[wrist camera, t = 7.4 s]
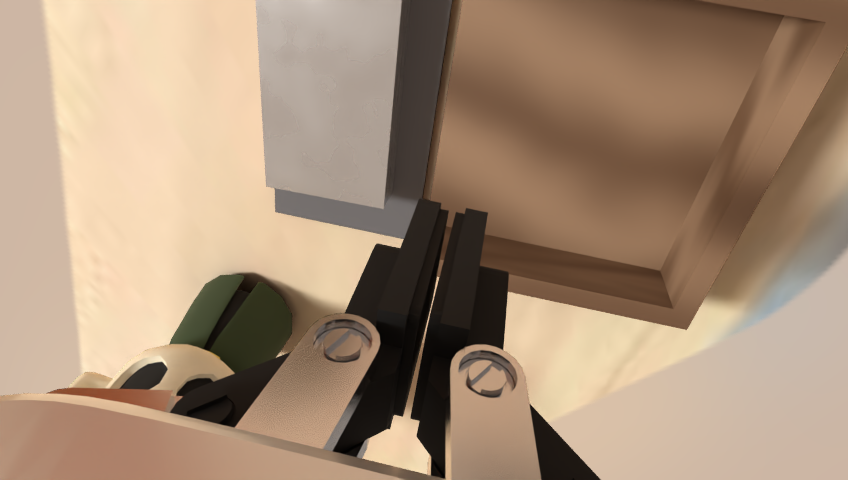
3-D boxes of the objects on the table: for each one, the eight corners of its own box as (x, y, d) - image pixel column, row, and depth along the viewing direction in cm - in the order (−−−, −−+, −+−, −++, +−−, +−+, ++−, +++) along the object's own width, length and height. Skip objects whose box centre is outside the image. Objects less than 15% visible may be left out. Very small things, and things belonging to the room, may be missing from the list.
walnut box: (477, -79, 21) (466, -75, 17) (818, -22, 20) (877, -6, 16) (427, 228, 29) (413, 271, 25) (668, 278, 28) (686, 329, 24)
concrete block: (274, -43, 22) (253, -39, 21) (412, -22, 22) (402, -15, 20) (282, 169, 28) (266, 186, 26) (392, 190, 27) (383, 209, 26)
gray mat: (268, -138, 21) (265, -138, 20) (468, -105, 20) (467, -105, 20) (277, 209, 30) (275, 212, 29) (416, 238, 29) (415, 241, 29)
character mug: (341, 296, 32) (246, 494, 22) (320, 370, 36) (231, 568, 26) (172, 237, 32) (-10, 406, 21) (169, 317, 36) (15, 495, 25)
